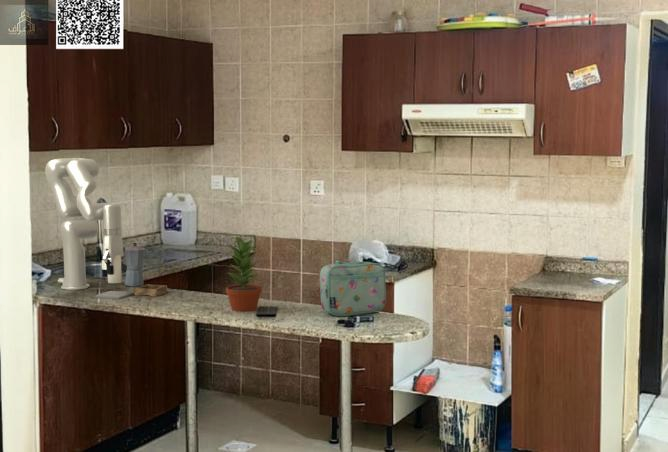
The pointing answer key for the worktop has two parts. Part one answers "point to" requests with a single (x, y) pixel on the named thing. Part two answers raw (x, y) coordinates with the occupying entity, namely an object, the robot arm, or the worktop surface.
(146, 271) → the worktop surface
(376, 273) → the lunch box
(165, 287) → the holder
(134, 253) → the moka pot
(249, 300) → the potted plant
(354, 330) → the worktop surface
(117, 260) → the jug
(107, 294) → the plate
